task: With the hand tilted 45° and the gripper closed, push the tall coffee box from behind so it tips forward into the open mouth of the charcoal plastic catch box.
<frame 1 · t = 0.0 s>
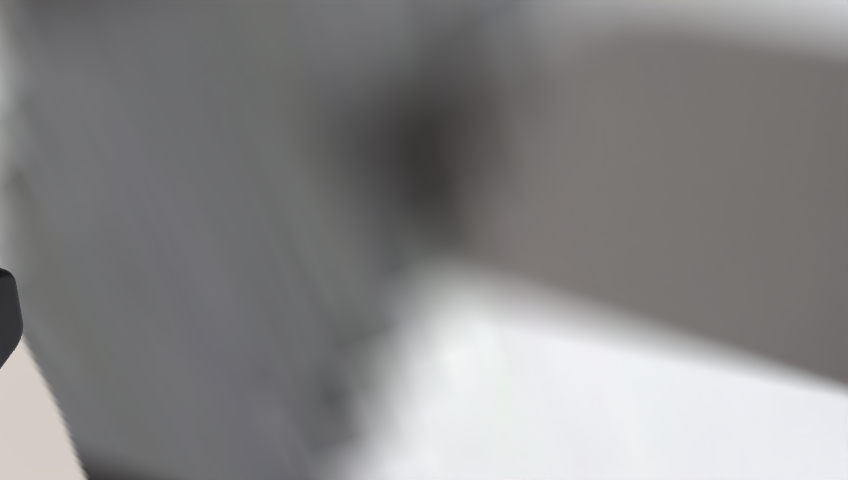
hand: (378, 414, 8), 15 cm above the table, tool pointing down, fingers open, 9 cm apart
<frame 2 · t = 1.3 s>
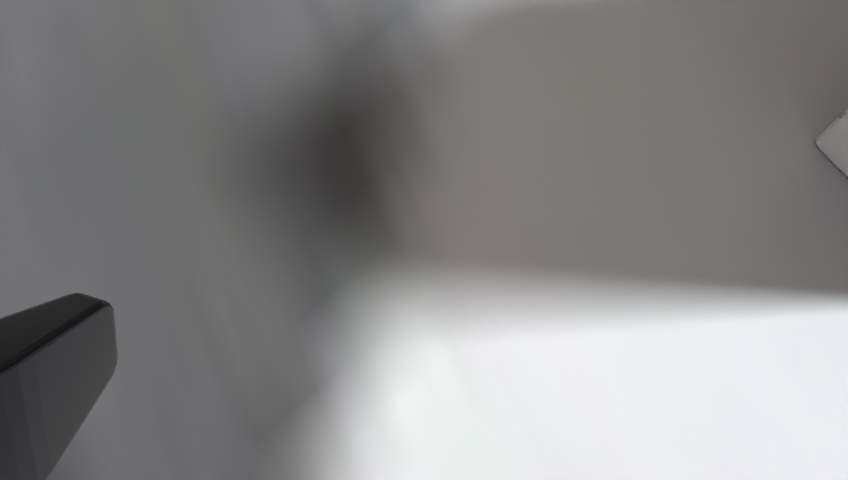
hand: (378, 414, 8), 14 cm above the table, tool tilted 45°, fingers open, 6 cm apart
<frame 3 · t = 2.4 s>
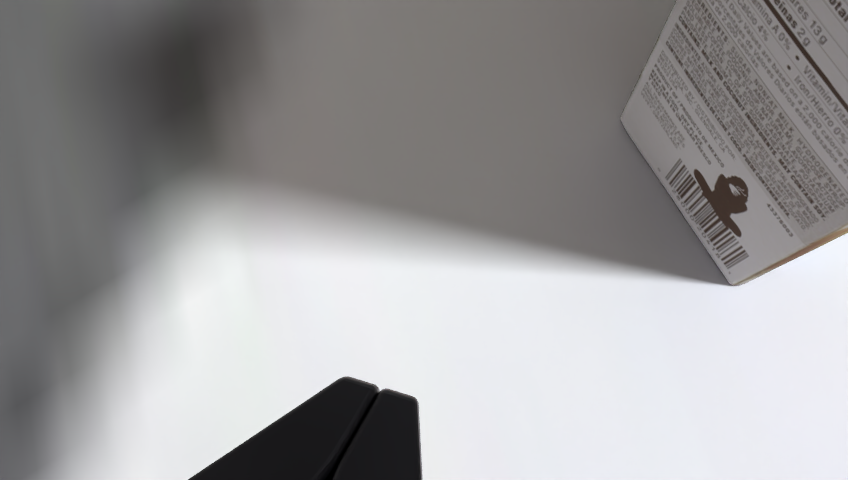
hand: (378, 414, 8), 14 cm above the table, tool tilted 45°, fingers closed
coffee box: (795, 137, 24), on the table
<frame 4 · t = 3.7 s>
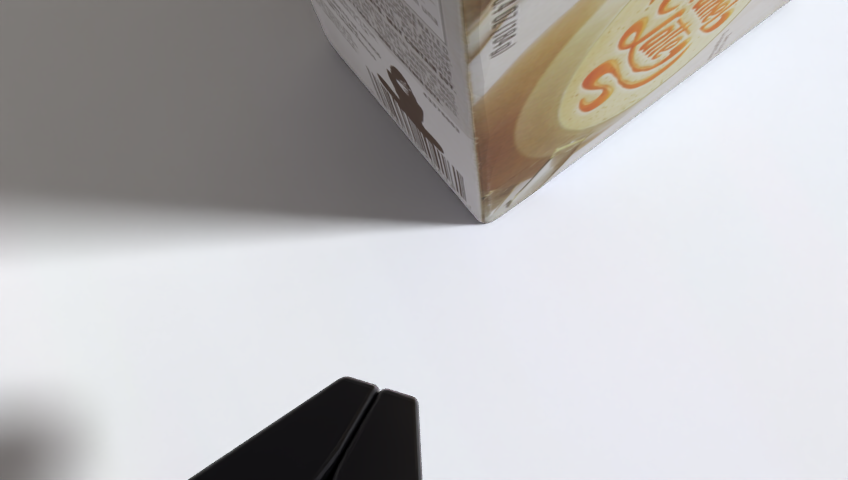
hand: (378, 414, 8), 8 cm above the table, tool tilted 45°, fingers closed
coffee box: (550, 26, 18), on the table
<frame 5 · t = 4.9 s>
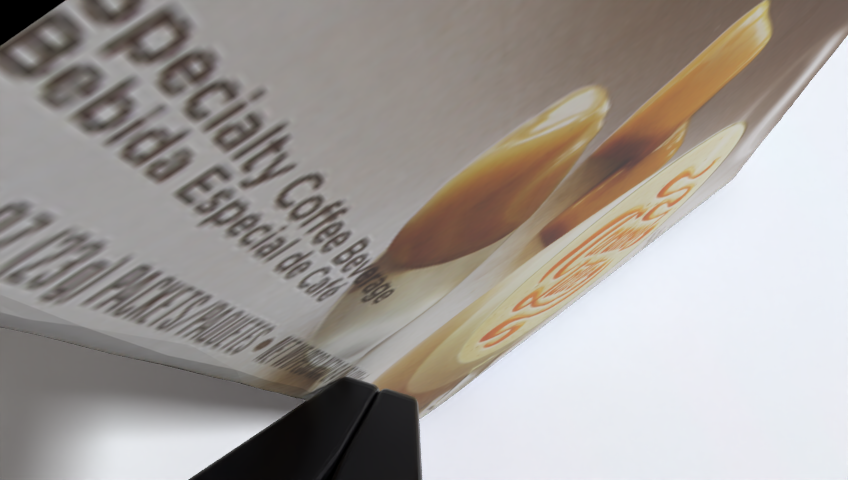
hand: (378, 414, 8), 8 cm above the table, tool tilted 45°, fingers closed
coffee box: (483, 200, 18), on the table
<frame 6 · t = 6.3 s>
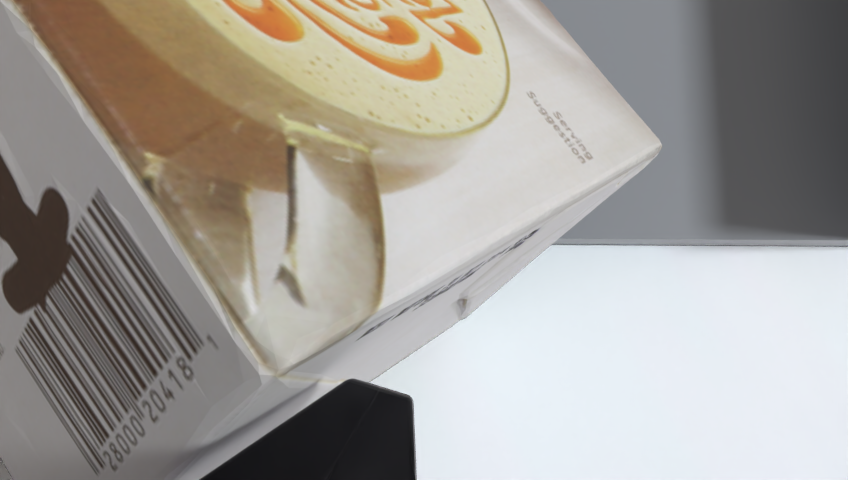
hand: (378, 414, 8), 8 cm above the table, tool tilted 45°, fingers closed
coffee box: (414, 354, 11), point 5 cm above the table, touching catch box, gripper
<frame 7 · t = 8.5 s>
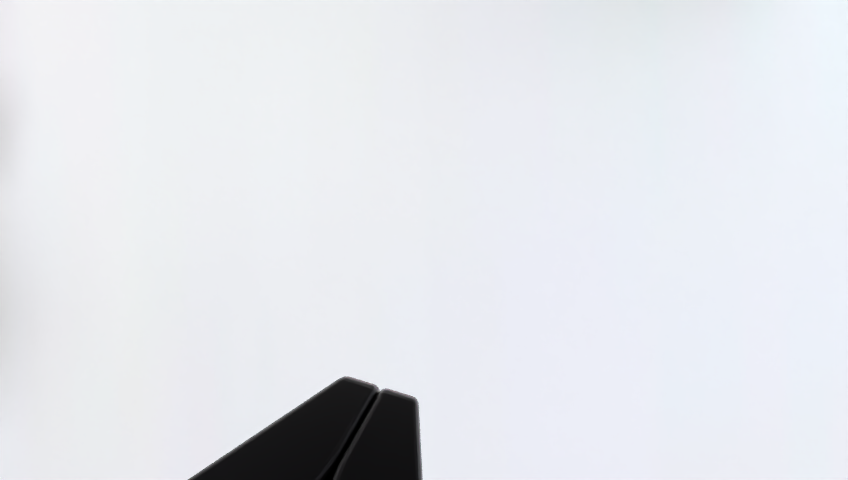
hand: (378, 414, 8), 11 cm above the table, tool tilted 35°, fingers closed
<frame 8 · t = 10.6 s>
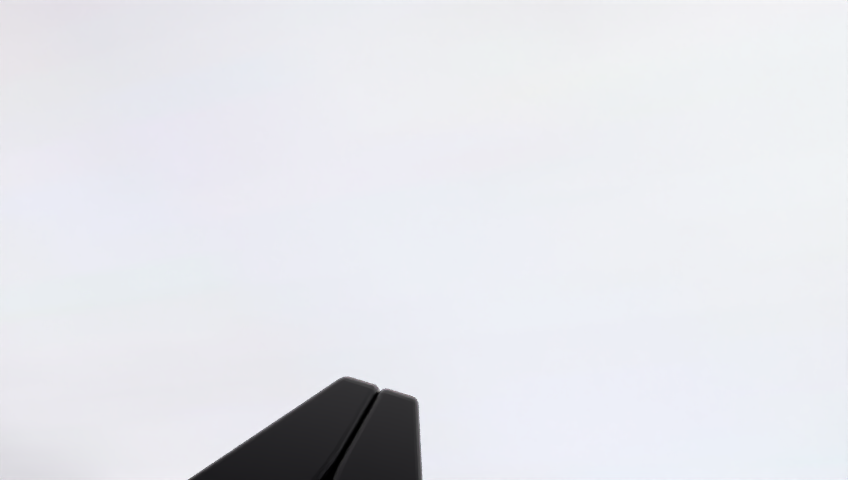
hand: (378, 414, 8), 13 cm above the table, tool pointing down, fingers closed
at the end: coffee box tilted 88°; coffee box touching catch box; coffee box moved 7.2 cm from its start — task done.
